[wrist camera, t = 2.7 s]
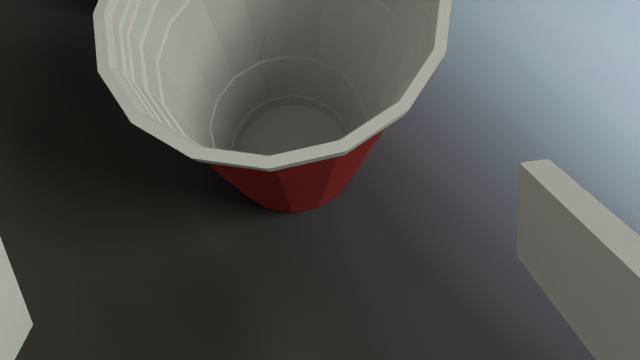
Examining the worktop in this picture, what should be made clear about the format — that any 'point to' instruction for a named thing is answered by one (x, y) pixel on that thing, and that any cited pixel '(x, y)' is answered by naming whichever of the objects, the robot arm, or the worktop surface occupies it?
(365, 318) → the worktop surface
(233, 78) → the plastic cup
